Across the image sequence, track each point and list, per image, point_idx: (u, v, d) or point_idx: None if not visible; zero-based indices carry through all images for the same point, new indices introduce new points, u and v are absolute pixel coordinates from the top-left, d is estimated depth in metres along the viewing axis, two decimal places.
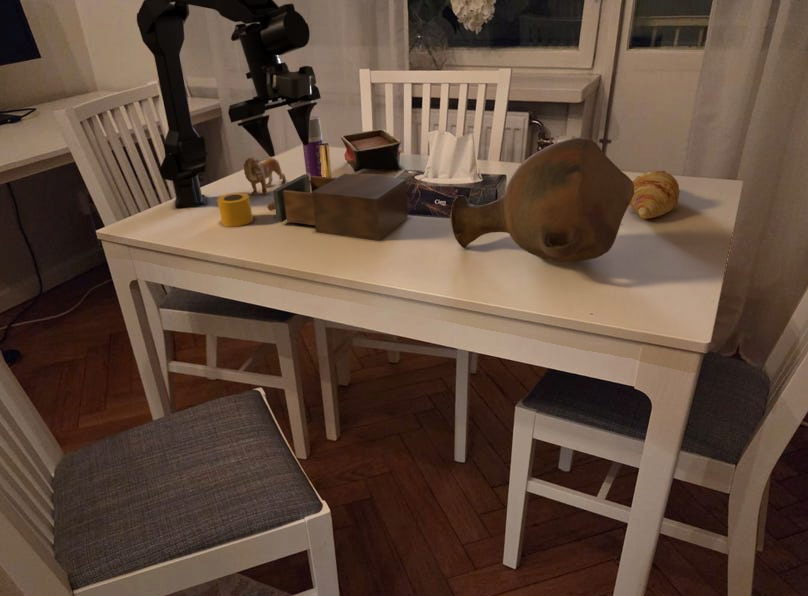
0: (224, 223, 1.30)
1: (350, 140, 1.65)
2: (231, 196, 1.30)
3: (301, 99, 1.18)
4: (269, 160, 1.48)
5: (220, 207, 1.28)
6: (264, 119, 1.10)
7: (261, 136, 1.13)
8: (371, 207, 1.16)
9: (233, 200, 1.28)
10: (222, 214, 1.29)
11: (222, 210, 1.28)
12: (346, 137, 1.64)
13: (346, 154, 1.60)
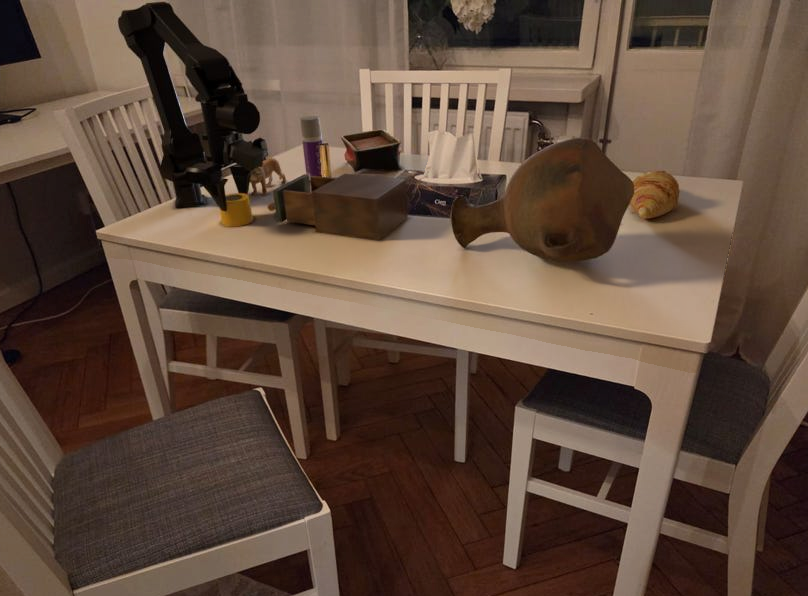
0: (224, 223, 1.30)
1: (350, 140, 1.65)
2: (231, 196, 1.30)
3: None
4: (269, 160, 1.48)
5: None
6: (223, 182, 1.22)
7: (217, 194, 1.25)
8: (371, 207, 1.16)
9: (233, 200, 1.28)
10: (222, 214, 1.29)
11: None
12: (346, 137, 1.64)
13: (346, 154, 1.60)
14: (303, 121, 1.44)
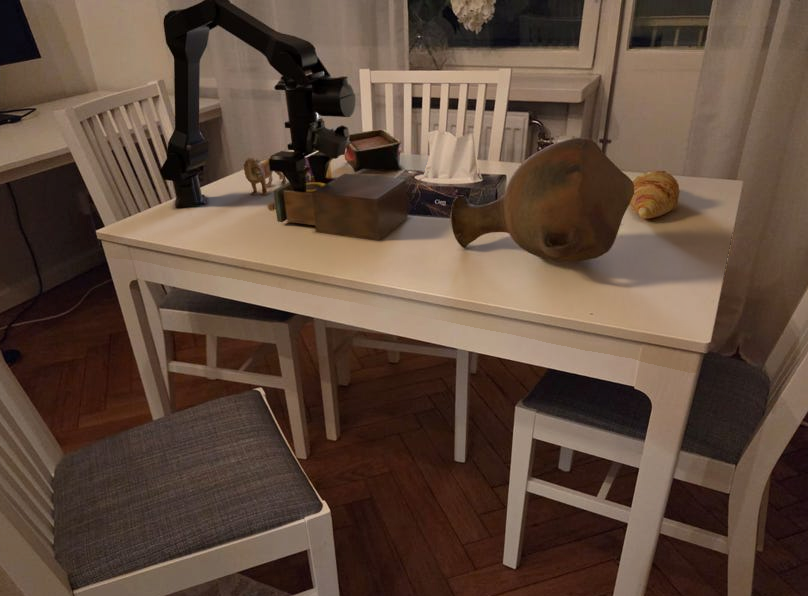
0: None
1: (350, 140, 1.65)
2: (309, 185, 1.28)
3: None
4: None
5: None
6: (306, 171, 1.20)
7: (297, 183, 1.23)
8: (371, 207, 1.16)
9: (312, 189, 1.26)
10: None
11: None
12: None
13: (346, 154, 1.60)
14: None
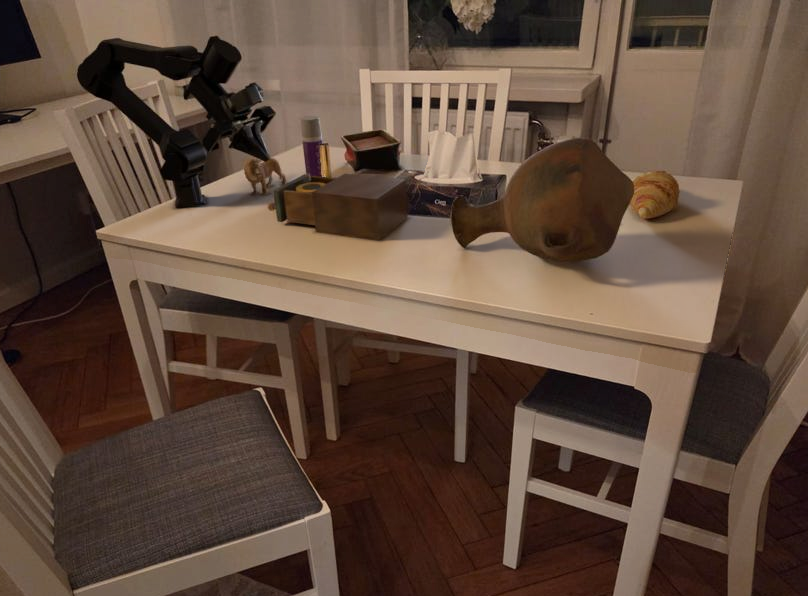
0: None
1: (350, 140, 1.65)
2: (309, 185, 1.28)
3: (247, 124, 1.28)
4: (269, 160, 1.48)
5: None
6: (247, 128, 1.25)
7: (251, 147, 1.27)
8: (371, 207, 1.16)
9: (312, 189, 1.26)
10: None
11: None
12: (346, 137, 1.64)
13: (346, 154, 1.60)
14: (303, 121, 1.44)
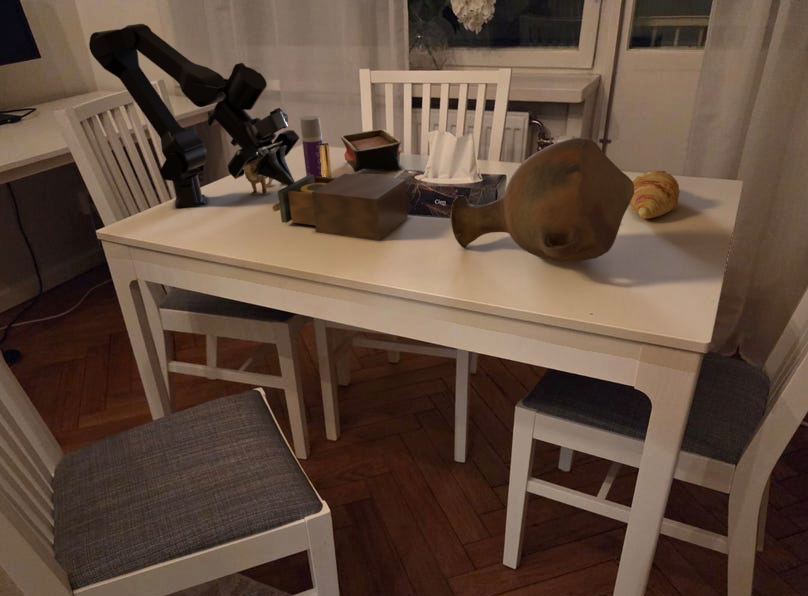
0: None
1: (350, 140, 1.65)
2: (314, 186, 1.28)
3: (272, 149, 1.29)
4: None
5: None
6: (272, 154, 1.26)
7: (276, 172, 1.28)
8: (371, 207, 1.16)
9: None
10: None
11: None
12: (346, 137, 1.64)
13: (346, 154, 1.60)
14: (303, 121, 1.44)
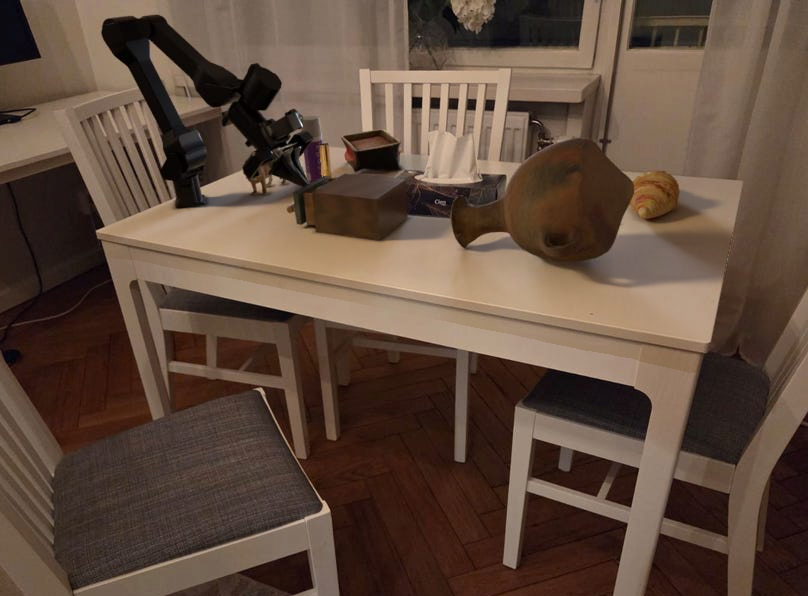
0: None
1: (350, 140, 1.65)
2: None
3: (286, 151, 1.27)
4: None
5: None
6: (287, 155, 1.24)
7: (291, 173, 1.26)
8: (371, 207, 1.16)
9: None
10: None
11: None
12: (346, 137, 1.64)
13: (346, 154, 1.60)
14: (303, 121, 1.44)
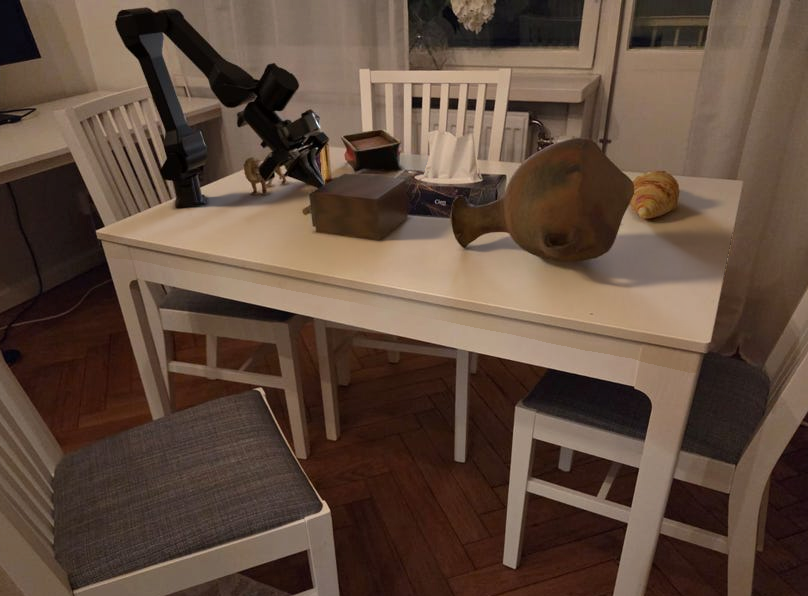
0: None
1: (350, 140, 1.65)
2: None
3: (302, 152, 1.26)
4: None
5: None
6: (303, 156, 1.23)
7: (307, 175, 1.25)
8: (371, 207, 1.16)
9: None
10: None
11: None
12: (346, 137, 1.64)
13: (346, 154, 1.60)
14: None
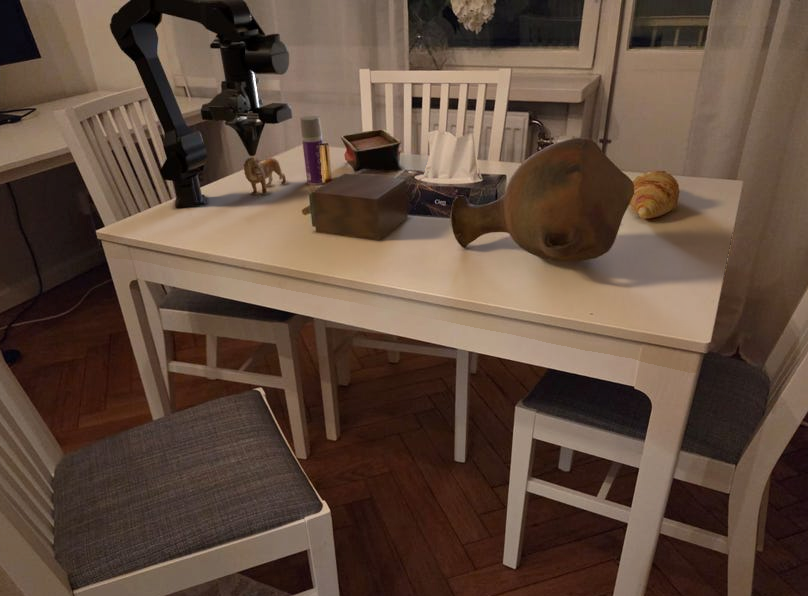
0: None
1: (350, 140, 1.65)
2: None
3: (248, 116, 1.25)
4: (269, 160, 1.48)
5: None
6: (232, 125, 1.25)
7: None
8: (371, 207, 1.16)
9: None
10: None
11: None
12: (346, 137, 1.64)
13: (346, 154, 1.60)
14: (303, 121, 1.44)
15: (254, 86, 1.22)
